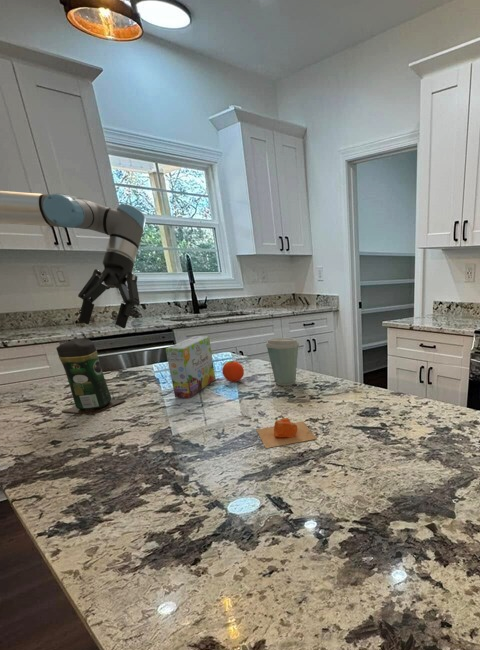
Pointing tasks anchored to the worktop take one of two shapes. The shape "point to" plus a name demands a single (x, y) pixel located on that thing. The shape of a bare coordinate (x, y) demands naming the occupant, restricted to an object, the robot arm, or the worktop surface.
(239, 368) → the clementine
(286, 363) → the disposable coffee cup
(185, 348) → the snack box
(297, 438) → the orange chunks on board
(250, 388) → the worktop surface
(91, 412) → the walnut coaster
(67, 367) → the coffee jar
